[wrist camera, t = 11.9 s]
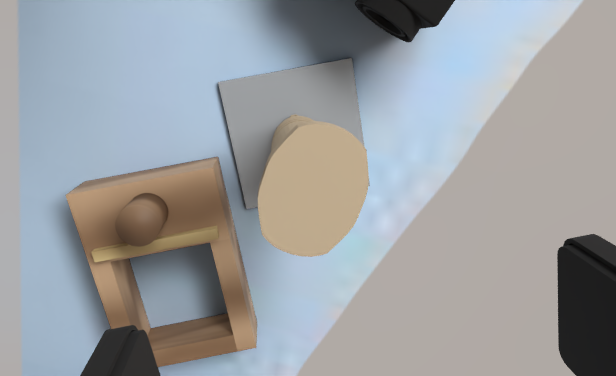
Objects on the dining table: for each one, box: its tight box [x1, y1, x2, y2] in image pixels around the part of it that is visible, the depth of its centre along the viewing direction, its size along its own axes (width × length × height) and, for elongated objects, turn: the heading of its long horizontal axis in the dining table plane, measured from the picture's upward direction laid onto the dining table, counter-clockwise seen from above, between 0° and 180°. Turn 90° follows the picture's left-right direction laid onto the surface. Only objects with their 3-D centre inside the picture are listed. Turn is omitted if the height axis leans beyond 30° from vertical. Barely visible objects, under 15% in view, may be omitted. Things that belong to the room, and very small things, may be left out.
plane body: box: [66, 157, 257, 367], centre depth 36 cm, size 15×10×6 cm
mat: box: [218, 58, 370, 209], centre depth 36 cm, size 10×10×1 cm
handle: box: [258, 114, 369, 257], centre depth 29 cm, size 5×6×15 cm
